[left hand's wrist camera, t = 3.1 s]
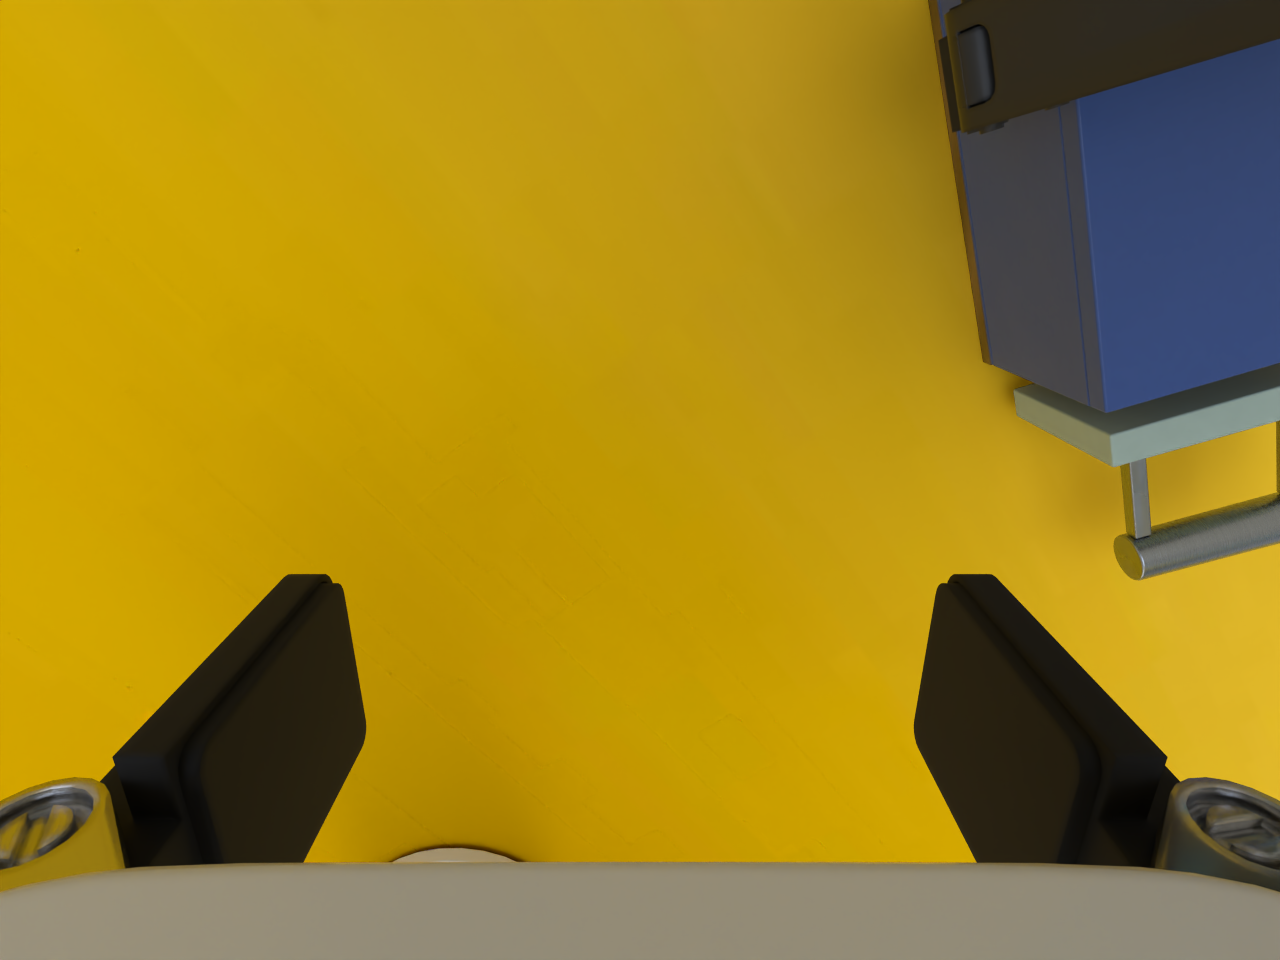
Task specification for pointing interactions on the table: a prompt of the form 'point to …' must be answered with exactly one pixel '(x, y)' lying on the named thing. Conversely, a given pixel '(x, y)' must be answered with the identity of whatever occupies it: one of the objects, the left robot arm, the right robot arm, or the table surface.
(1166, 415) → the drawer
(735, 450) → the table surface
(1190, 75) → the cabinet
